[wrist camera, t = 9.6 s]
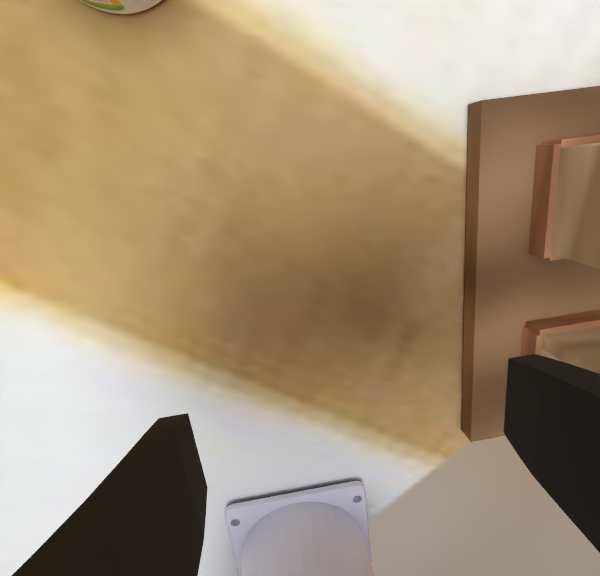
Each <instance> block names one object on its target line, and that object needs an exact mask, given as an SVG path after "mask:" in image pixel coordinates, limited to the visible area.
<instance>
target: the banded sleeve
mask: <svg viewBox="0 0 600 576" xmlns="http://www.w3.org/2000/svg"><path fill="white" fill-rule="evenodd" d="M528 254H532V255H534V256H537V257H540V258H543V259H546V260H549V261H552V260H558V259H568V260H572V261H575V262H578V263H582V264H585V265H588V266H592V267H595V268H598V269H600V134H594V135H586V136H579V137H571V138H564V139H556V140H549V141H543V145H539V146H536V158H535V171H534V184H533V197H532V210H531V223H530V236H529V249H528Z"/></svg>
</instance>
